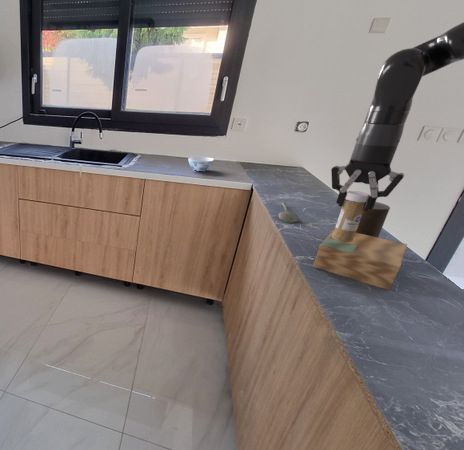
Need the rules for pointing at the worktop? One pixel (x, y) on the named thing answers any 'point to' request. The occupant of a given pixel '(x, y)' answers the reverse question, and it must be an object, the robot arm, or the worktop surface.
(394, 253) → the labeled wooden box
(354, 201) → the sprinkles bottle
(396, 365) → the worktop surface
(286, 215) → the soupspoon
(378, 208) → the pillar candle
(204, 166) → the chinaware
